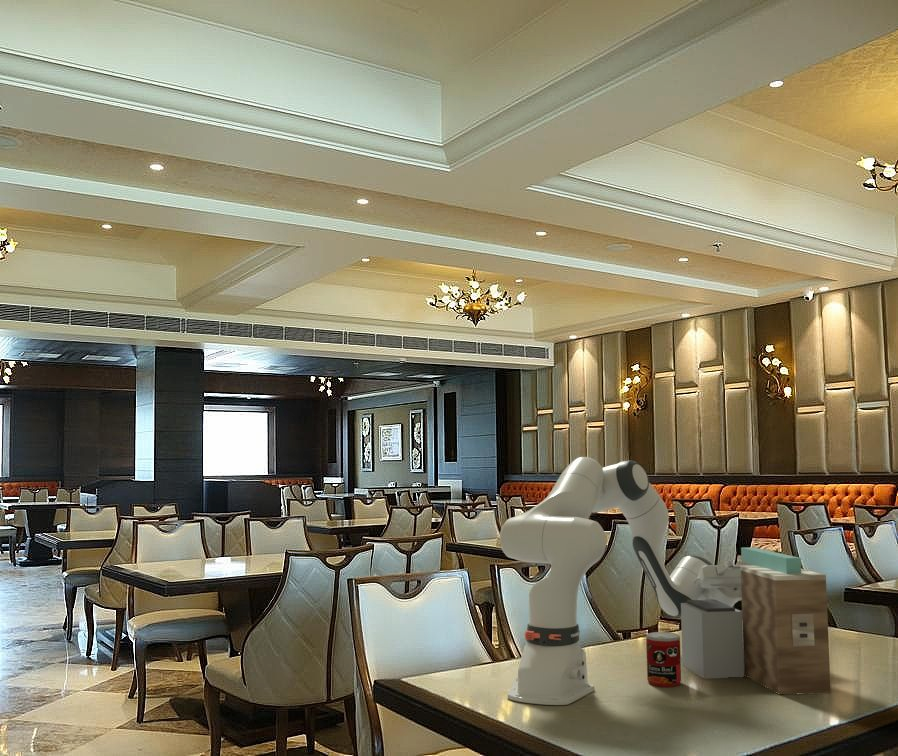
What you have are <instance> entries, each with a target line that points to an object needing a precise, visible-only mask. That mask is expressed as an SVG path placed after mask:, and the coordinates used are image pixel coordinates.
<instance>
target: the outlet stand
mask: <svg viewBox="0 0 898 756" xmlns="http://www.w3.org/2000/svg"><path fill="white" fill-rule="evenodd" d="M741 592H742V600H741V611H742V627H743V657H744V676H745V675H746V676H748V677H750V678H751V679H750V678H749V679H750V680H752V679H753V680H752V681H754V680H755V681H757V682H759V683H760V685H761V684H762V685H764V686H766V687H768V688H769V689H768V688H767V689H768V690H770V689H771V690H773V691H775V692H777V693H779V694H794V695H798V694H797V693H823V694H831V692H832V691H831V690H832V688H831V666H830V665H831V663H830V662H831V661H830V643H829V642H830V639H829V619H828V618H829V617H828V614H829V613H828V596H827V594H828V593H827V575H826V574H823V573H820V572H815V571H812V570H808V569H804V568H801V574H786V573H782V572H778V571H774V570H771V569H767V568H763V567H760V566H741ZM746 676H745V677H746ZM748 677H747V678H748ZM755 681H754V682H755ZM757 682H756V683H757ZM759 683H758V684H759ZM762 685H761V686H762ZM764 686H763V687H764ZM766 687H765V688H766ZM771 690H770V691H771ZM773 691H772V692H773ZM775 692H774V693H775ZM777 693H776V694H777Z"/></svg>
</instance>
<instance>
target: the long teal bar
mask: <svg viewBox="0 0 898 756" xmlns="http://www.w3.org/2000/svg"><path fill="white" fill-rule="evenodd" d="M740 550H741V551H740V553H741V556H740V557H741V562H742V563H745V564H748V565H756V566H760V567H763V568H767V569H771V570H774V571H778V572H782V573H786V574H801V569H802V558H801V557H797V556H794V555H789V554H785V553H780V552H776V551H772V550H767V549H762V548H758V547H740Z"/></svg>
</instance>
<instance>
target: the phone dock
mask: <svg viewBox="0 0 898 756" xmlns="http://www.w3.org/2000/svg"><path fill="white" fill-rule="evenodd" d="M680 621H681V623H680V625H681V626H680V627H681V650H682V651H681V653H682V654H681V658H682V662H681V663H682V664H681V665H682V666H683V667H685V668H686V669H688V670H689V671H691V672H693V673H694V674H696V675H697V676H699V677H700V678H702V679H705V680H706V679H707V680H708V679H711V680H712V679H729V678H728V677H744V678H745V675H744V652H743V622H742V610H739V609H737V608H736V607H734V606H733V607H732V606H729V605H726V604H724V603H721V602H719V601H716V600H714V599H707V600H687V603H681V617H680Z"/></svg>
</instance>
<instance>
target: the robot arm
mask: <svg viewBox="0 0 898 756" xmlns="http://www.w3.org/2000/svg"><path fill="white" fill-rule="evenodd" d="M617 508H618V509H619V510H620V513H622V515H623V516H624V517H625V519H626V521H627V523H628V525H629V528H630V531H631V536H632V547H633V551H634V553H635V555H636V557H637V560H638V561H639V563H640V566H641V567H642V569H643V572H644V573H645V575H646V577H647V579H648V580H649V581H648V582H649V583H650V586H651V587H652V589H653V591H654V594H655V595H654V596H655V597H656V602H657V604H658V606H659V607H660V609H661V610H662V611H663V612H664V613H665V614H666V615H668V616H670V617H673V618H681V603H687V600H707V599H714V600H716V601H719V602H721V603H724V604H726V605H729V606H732V607H734V606H735V605H736V603H738V602H739V601H740V602H741V601H742V592H741V566H756V565H752V564H733V561H732V560H726V561H724V562H723V563H721V564H716V565H715V564H713V563H711V561H709V560H708V559H706V558H705V557H702V556H698V555H693V554H692V555H685V556H683V557H682V558H681V560H680V561H679V562H678V563H677V565H676V566H675V568H674V569H673V570H672V571H671V574H669V572H668V570H667V568H666V566H665V564H664V562H663V560H662V557H661V550H662V549H661V547H662V544H663V543H662V542H663V538H664V536H665V533H666V531H667V528H668V524H669V519H670V518H669V516H670V515H669V511H668V507H667V504H666V503H665V501H664V500H663V498H662V497H661V496H660V494H659V493H658V492H657V490H656V489H655V487H654V486H653V485H652V484H651V483H650V481H649V476H648V473H647V470H645V468H644V466H643V465H641V464H640V463H638V461H635V460H630V459H628V460H621V461H619V462H618V463H614V464H610V465H608V466H607V465H606V466H602V465H601V464H600V463H599V462H598V460H596V459H595V458H592V457H589V456H579V457H577V458H575V459H574V460H572V461H571V462H570V463H569V464H568V465H567V466H566V467H565V469H564V470H563V471H562V472H561V474H560V475H559V477H558V479H557V480H556V482H555V484H554V485H553V487H552V489H551V491H550V492H549V494H548V495H547V496H546V497H545V498H544V499H543V500H542V501H541V502H540V503H538V504H536V505H535V506H533V507H532V508H531V509H529V510H527V511H524V512H523V513H521V514H519V515H516V516H513V517H509V518H508V519H507V520H505V522H504V523H503V525H502V526H501V529H500V532H499V544H500V547H501V551H502V552H503V553H504V555H505V556H506V557H507V558H509V559H514V560H516V561H521V562H524V563H530V564H531V563H532V564H533V563H535V564H550V572H549V574H548V576H547V577H545V578H543V579H541V580H539V581H538V582H537V581H536V583H534V585H532V587H531V588H530V590H529V593H528V624H527V628H526V630H525V633H524V639H525V641H526V644H525V645H524V646H523V650H522V654H521V657H520V661H519V665H518V668H517V669H518V670H517V677H516V678H514V680H513V682H512V684H511V687H510V689H509V691H508V693H507V699H508V700H512V701H514V702H518V703H525V704H526V703H527V704H535V705H546V706H567V705H570V704H571V703H575V702H576V701H578V700H579V699H581V698H584V697H585V696H586V695H588V694H591V693H593V692H595V685H594V684H593V683H590V682H588V681H589V680H588V666H587V653H586V650H584V649H583V648H582V647H581V645H580V642H579V641H580V625H579V624H578V621H577V620H578V595H579V589H580V585H581V583H582V580H583V578H584V576H585V574H586V573H587V572H588V570H589V569H590V568H591V567H593V566H594V565H595V564H596V563H598V562H599V561H600V560H601V558H602V557H603V555H604V554H605V551H606V547H607V539H606V538H607V537H606V534H605V530H604V529H603V527H602V526H601V524H600V523H599V522H598V521H596V520H592V519H590V516H591V515H596V514H598V513H600V512H606V511H610V510H612V509H617Z"/></svg>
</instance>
